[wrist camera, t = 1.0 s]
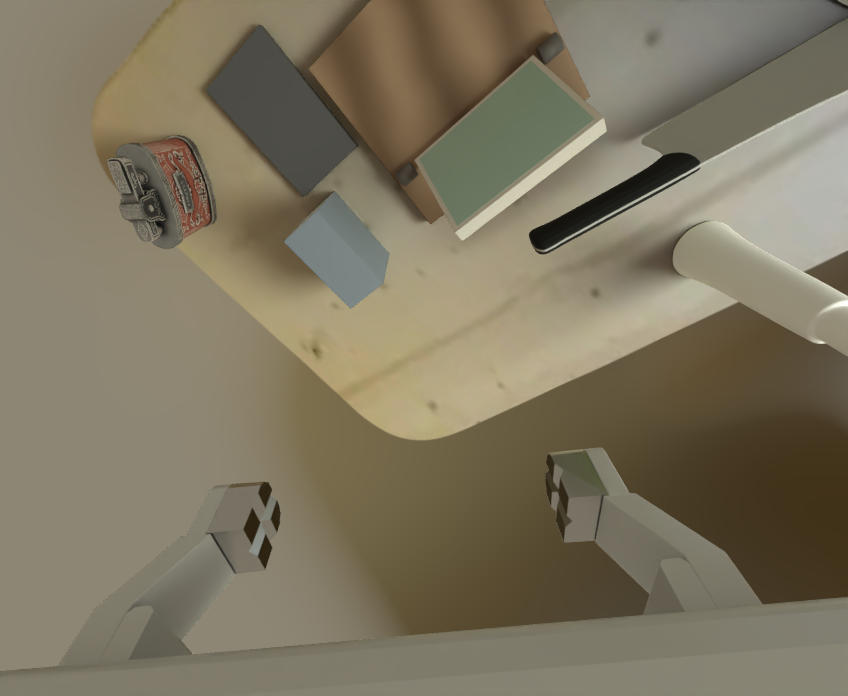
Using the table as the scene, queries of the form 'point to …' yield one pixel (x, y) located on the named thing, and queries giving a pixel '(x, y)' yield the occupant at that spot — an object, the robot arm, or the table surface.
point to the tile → (507, 145)
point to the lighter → (163, 189)
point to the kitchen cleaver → (718, 129)
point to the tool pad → (281, 112)
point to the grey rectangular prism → (340, 250)
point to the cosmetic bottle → (763, 283)
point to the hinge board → (432, 72)
